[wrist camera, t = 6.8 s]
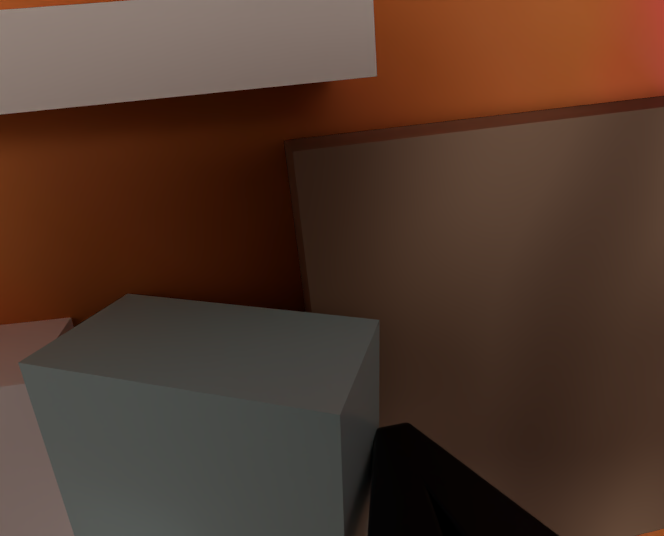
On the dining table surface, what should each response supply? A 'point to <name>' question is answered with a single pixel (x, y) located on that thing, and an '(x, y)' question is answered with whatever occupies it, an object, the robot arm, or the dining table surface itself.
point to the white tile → (26, 440)
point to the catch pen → (177, 49)
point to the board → (508, 295)
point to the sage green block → (210, 419)
